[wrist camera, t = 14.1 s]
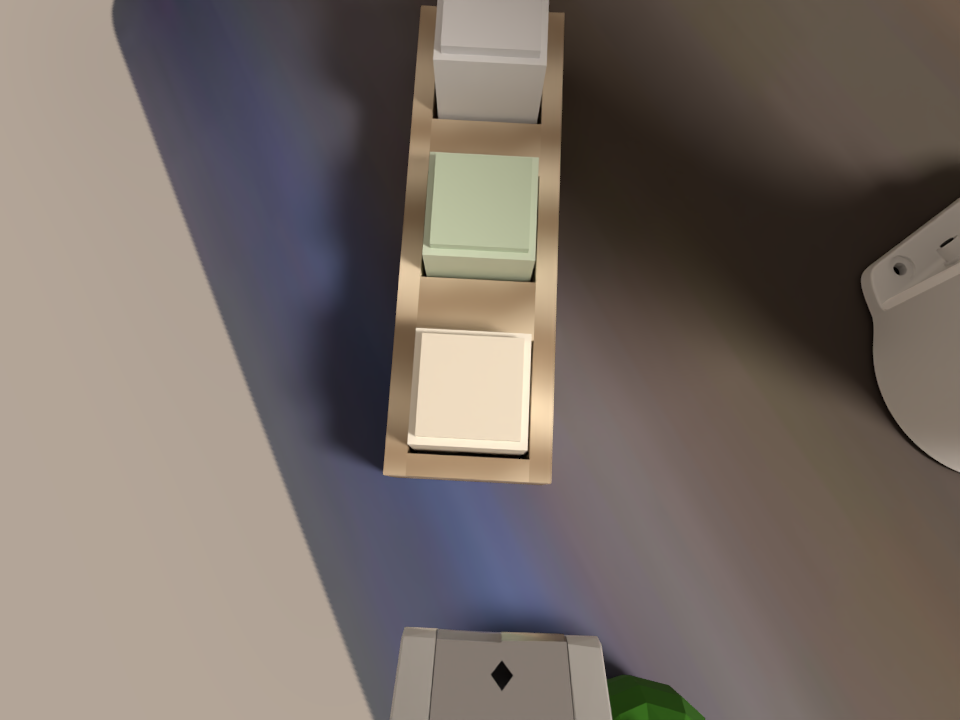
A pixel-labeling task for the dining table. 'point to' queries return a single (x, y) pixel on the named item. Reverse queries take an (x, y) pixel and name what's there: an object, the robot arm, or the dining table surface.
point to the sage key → (481, 217)
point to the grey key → (490, 59)
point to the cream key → (470, 393)
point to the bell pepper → (647, 700)
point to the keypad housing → (471, 298)
